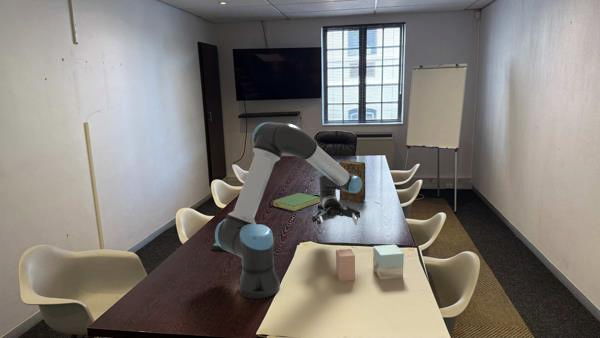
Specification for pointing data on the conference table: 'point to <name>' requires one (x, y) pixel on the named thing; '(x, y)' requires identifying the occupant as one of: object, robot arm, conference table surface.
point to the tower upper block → (388, 256)
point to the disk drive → (216, 247)
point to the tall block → (345, 265)
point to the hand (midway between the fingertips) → (339, 223)
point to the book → (354, 170)
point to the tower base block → (388, 271)
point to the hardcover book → (296, 201)
